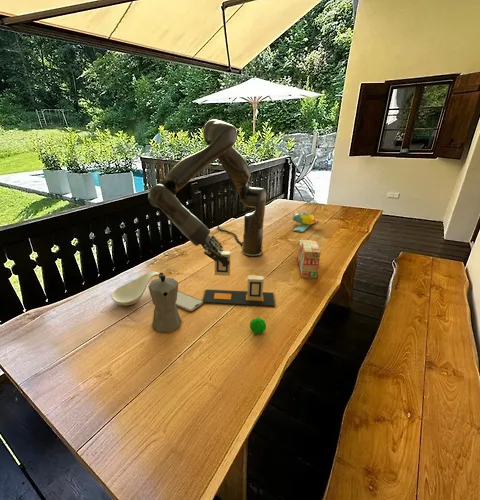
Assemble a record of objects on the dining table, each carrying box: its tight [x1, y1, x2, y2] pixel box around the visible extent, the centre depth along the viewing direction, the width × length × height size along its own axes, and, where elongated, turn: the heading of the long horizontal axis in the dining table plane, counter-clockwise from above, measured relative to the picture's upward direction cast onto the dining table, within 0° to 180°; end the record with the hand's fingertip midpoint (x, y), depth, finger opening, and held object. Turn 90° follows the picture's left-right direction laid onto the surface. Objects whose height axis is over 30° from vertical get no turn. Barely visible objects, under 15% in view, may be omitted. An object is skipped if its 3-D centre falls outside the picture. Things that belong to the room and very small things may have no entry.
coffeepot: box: [147, 271, 181, 333], centre depth 97 cm, size 15×9×18 cm, turn 13°
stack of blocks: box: [297, 239, 322, 279], centre depth 134 cm, size 21×6×12 cm, turn 169°
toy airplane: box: [292, 212, 320, 233], centre depth 190 cm, size 28×9×15 cm
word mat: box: [202, 289, 276, 308], centre depth 113 cm, size 26×9×1 cm, turn 83°
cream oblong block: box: [214, 250, 232, 277], centre depth 108 cm, size 3×6×8 cm, turn 83°
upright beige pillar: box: [246, 274, 264, 300], centre depth 110 cm, size 3×6×8 cm, turn 83°
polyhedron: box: [249, 317, 267, 335], centre depth 94 cm, size 5×5×5 cm
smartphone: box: [175, 290, 204, 312], centre depth 112 cm, size 7×1×15 cm
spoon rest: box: [110, 271, 160, 306], centre depth 116 cm, size 24×12×7 cm, turn 140°
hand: (228, 262), depth 108 cm, fingers closed on cream oblong block, 3 cm apart
